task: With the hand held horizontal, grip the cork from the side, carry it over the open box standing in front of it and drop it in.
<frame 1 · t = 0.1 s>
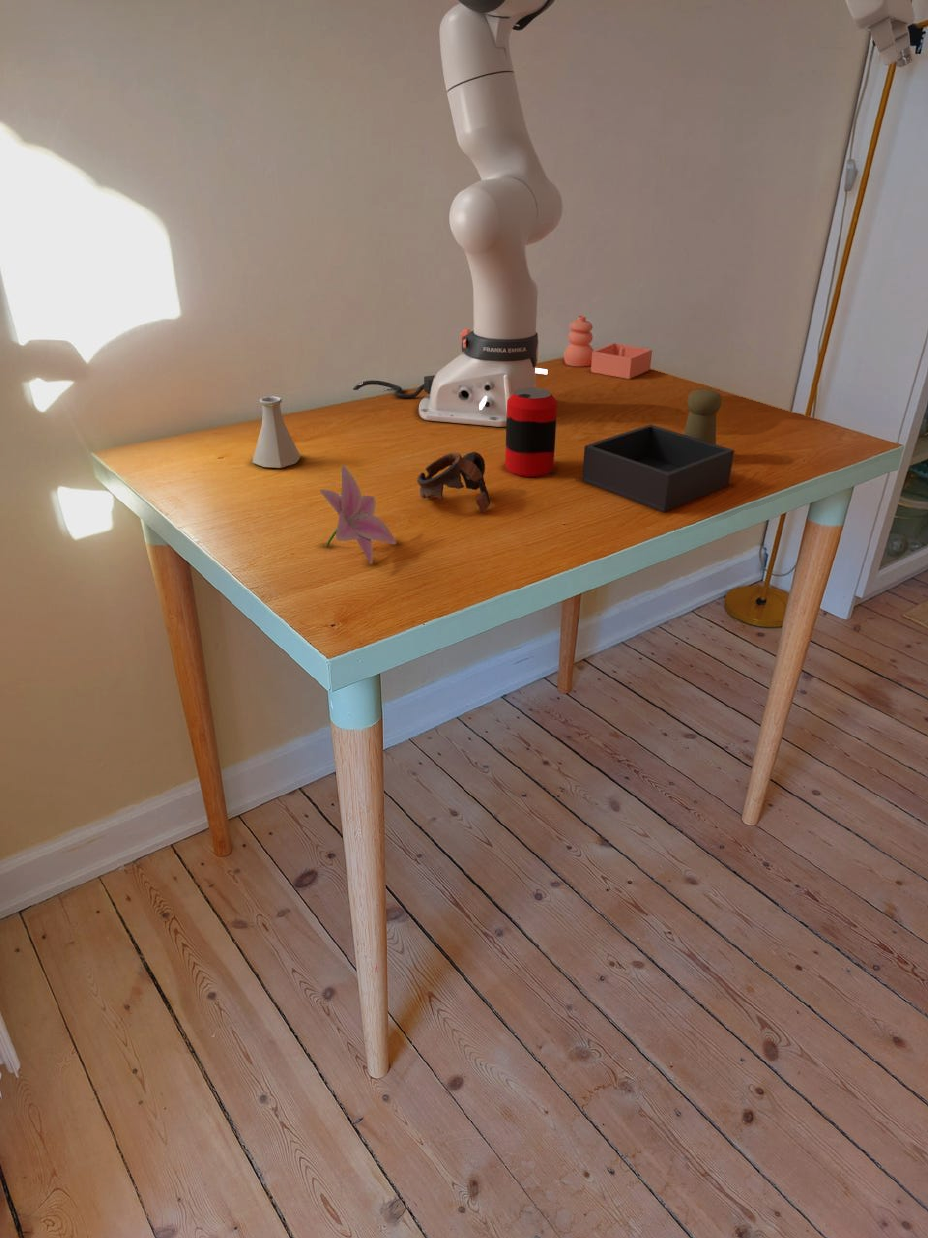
hand: (899, 63, 113), 54 cm above the table, tool tilted 30°, fingers open, 8 cm apart
cork: (696, 459, 146), on the table
flask: (277, 462, 143), on the table
broken clay pot: (459, 503, 130), on the table
lily: (356, 552, 116), on the table
open box: (654, 483, 136), on the table
pottery: (601, 368, 194), on the table
soda can: (529, 469, 141), on the table
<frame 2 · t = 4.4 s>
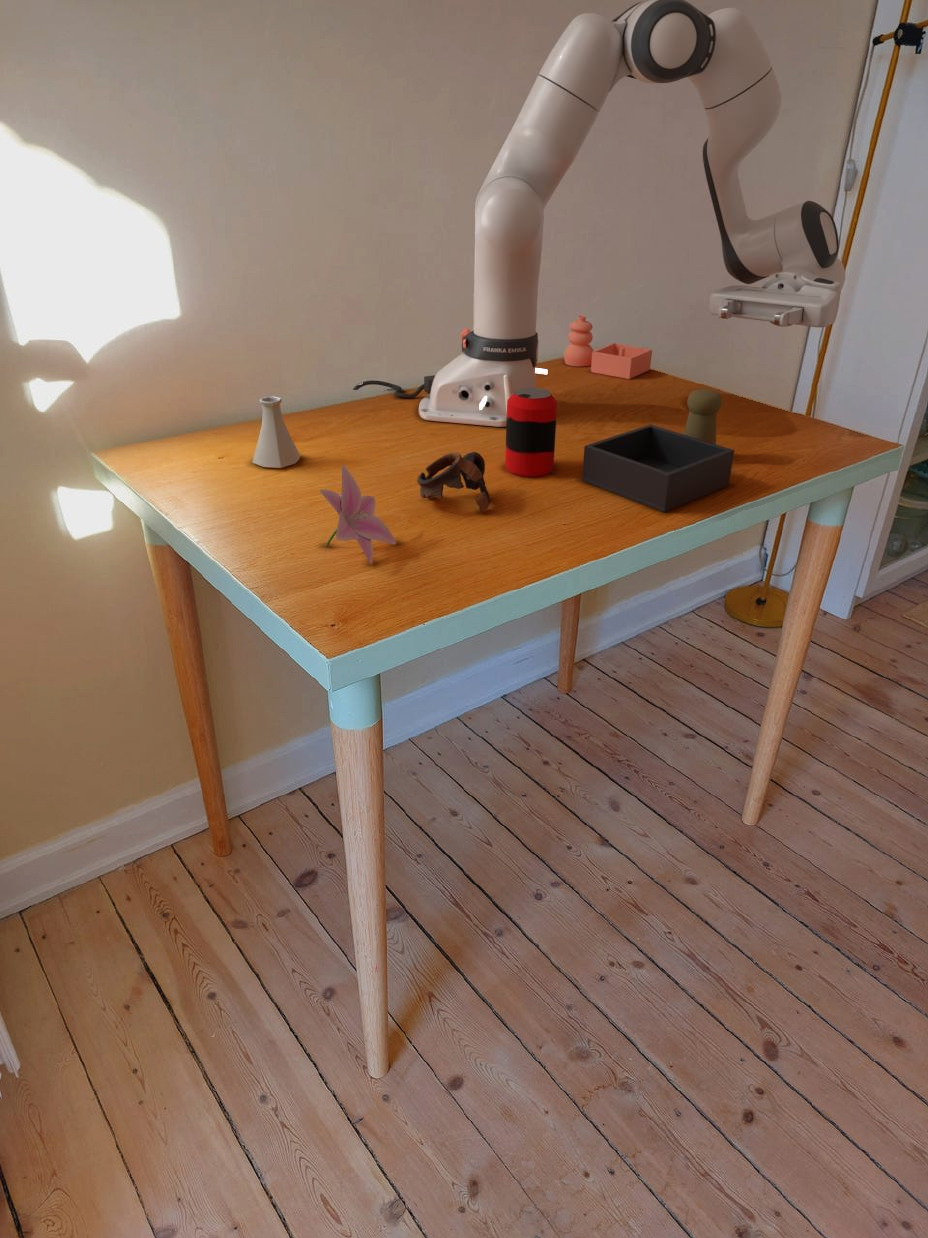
hand: (750, 316, 143), 20 cm above the table, tool horizontal, fingers open, 8 cm apart
nothing on the table moved.
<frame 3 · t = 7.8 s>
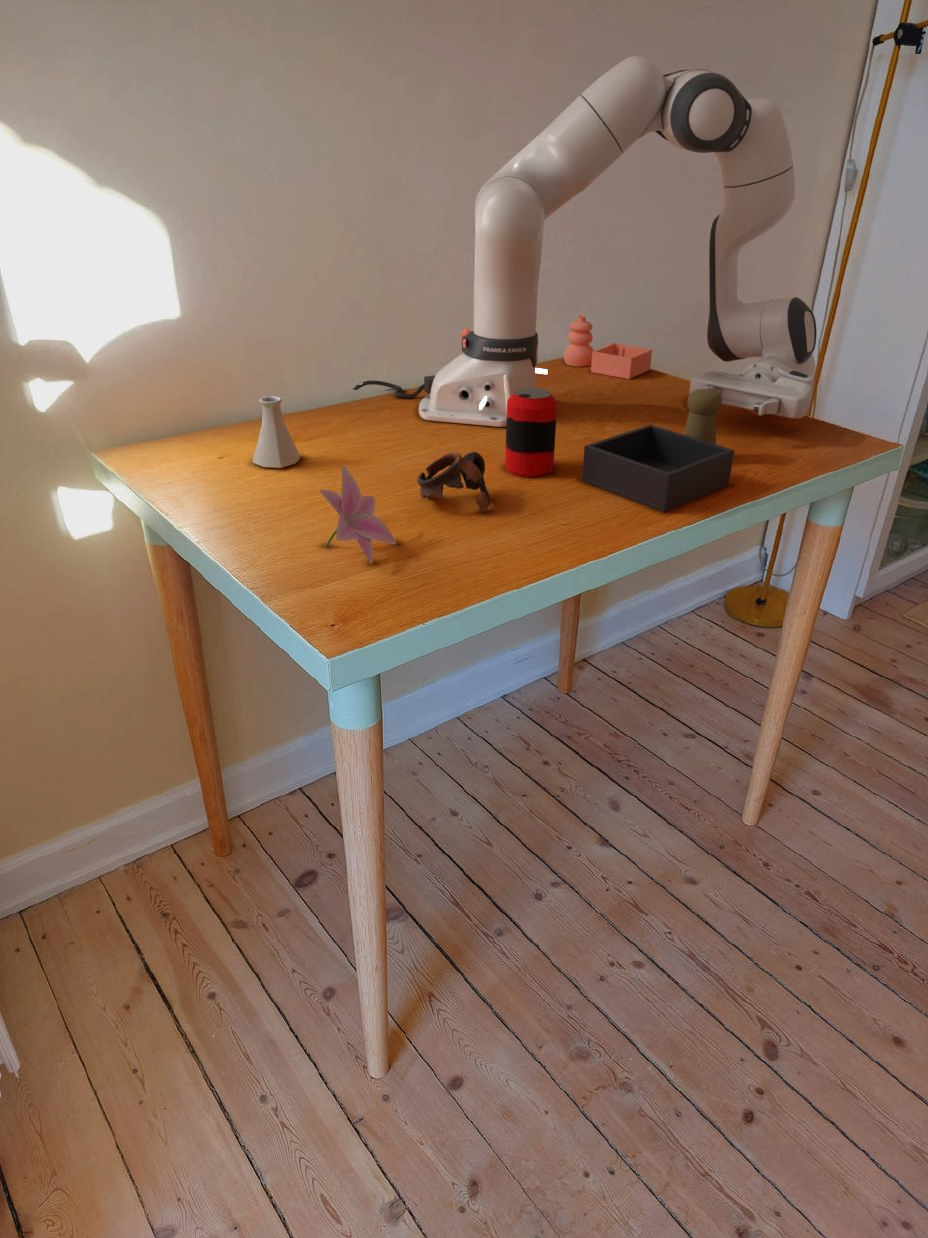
hand: (730, 404, 150), 6 cm above the table, tool horizontal, fingers open, 8 cm apart
nothing on the table moved.
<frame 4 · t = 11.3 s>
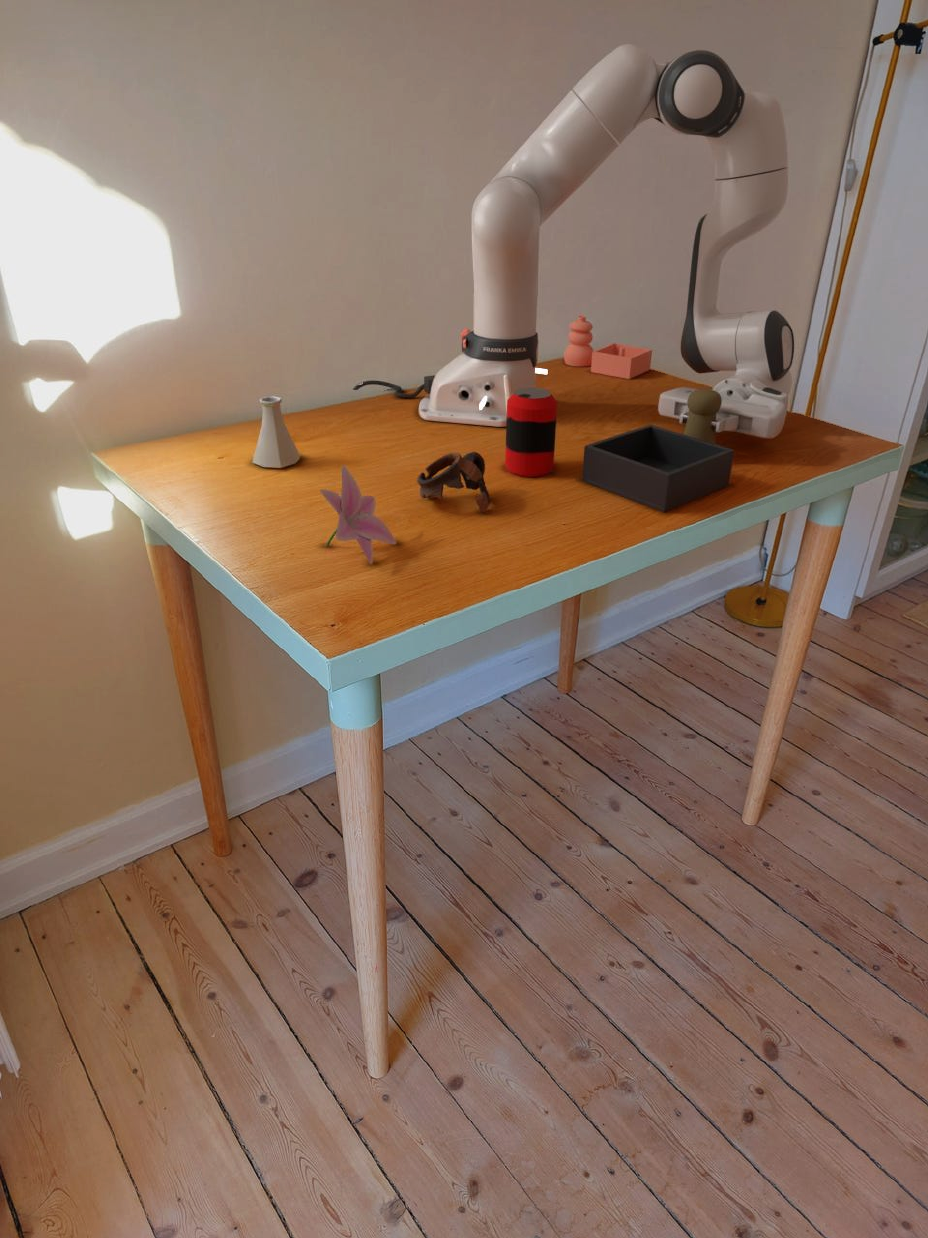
hand: (699, 423, 142), 6 cm above the table, tool horizontal, fingers closed on cork, 4 cm apart
cork: (696, 459, 146), on the table, touching gripper
everything else where it was.
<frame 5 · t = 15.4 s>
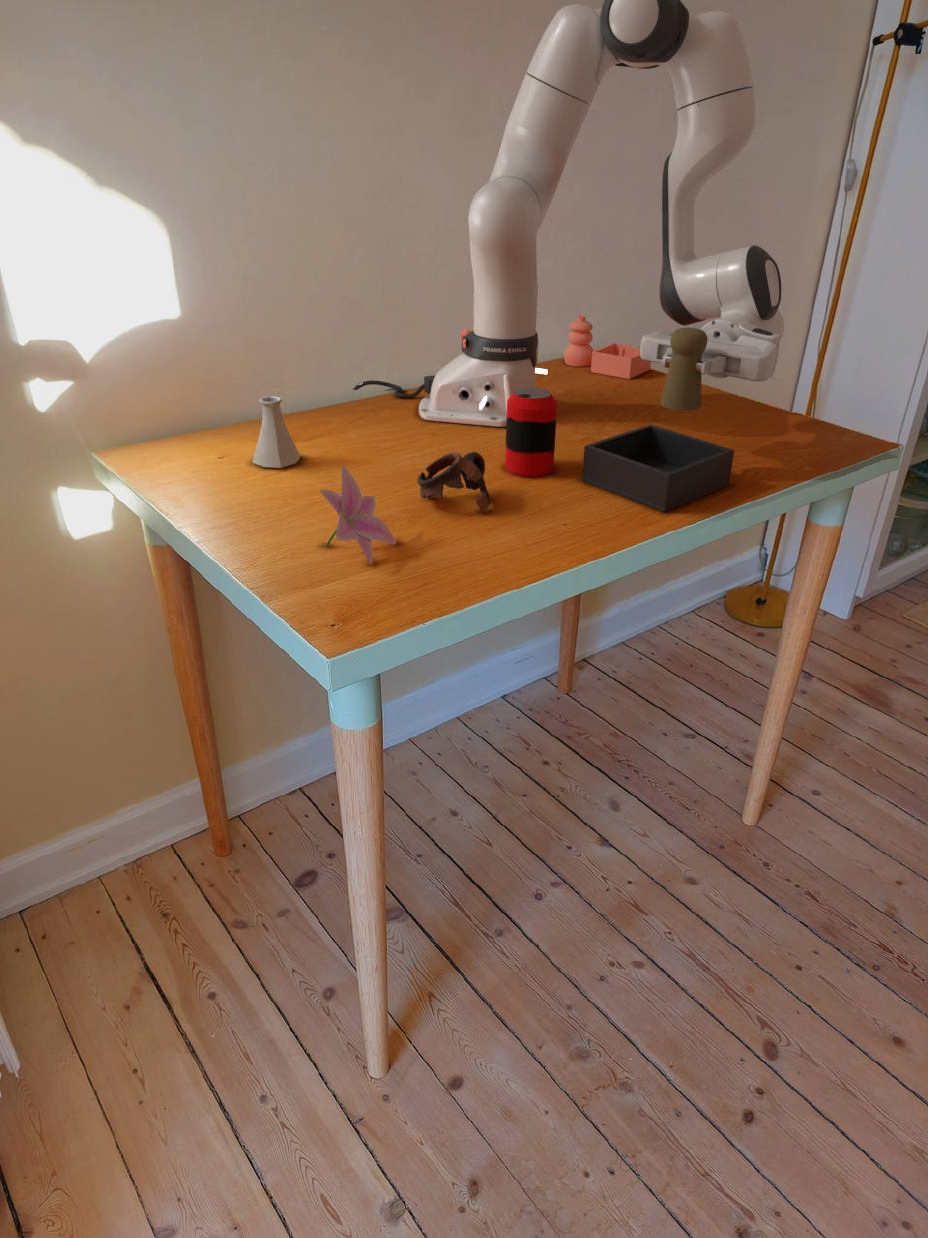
hand: (683, 365, 131), 17 cm above the table, tool horizontal, fingers closed on cork, 4 cm apart
cork: (680, 405, 135), point 11 cm above the table, touching gripper
everything else where it was.
when the fingers open (7 cm above the table, at t = 19.6 s): cork stays where it is, resting on open box.
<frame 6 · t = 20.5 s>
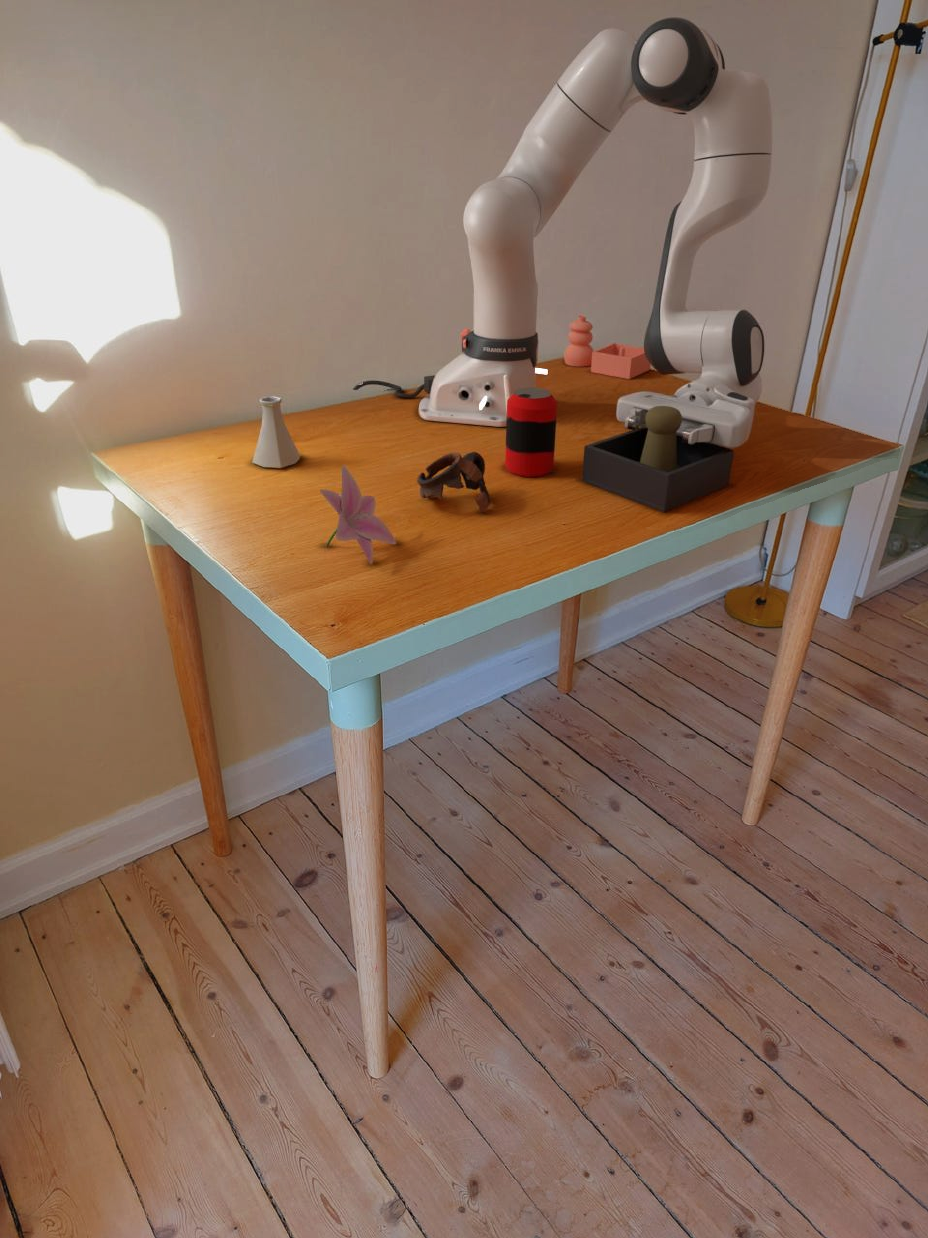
hand: (657, 431, 131), 8 cm above the table, tool horizontal, fingers open, 8 cm apart
cork: (656, 480, 136), resting on open box
everything else where it was.
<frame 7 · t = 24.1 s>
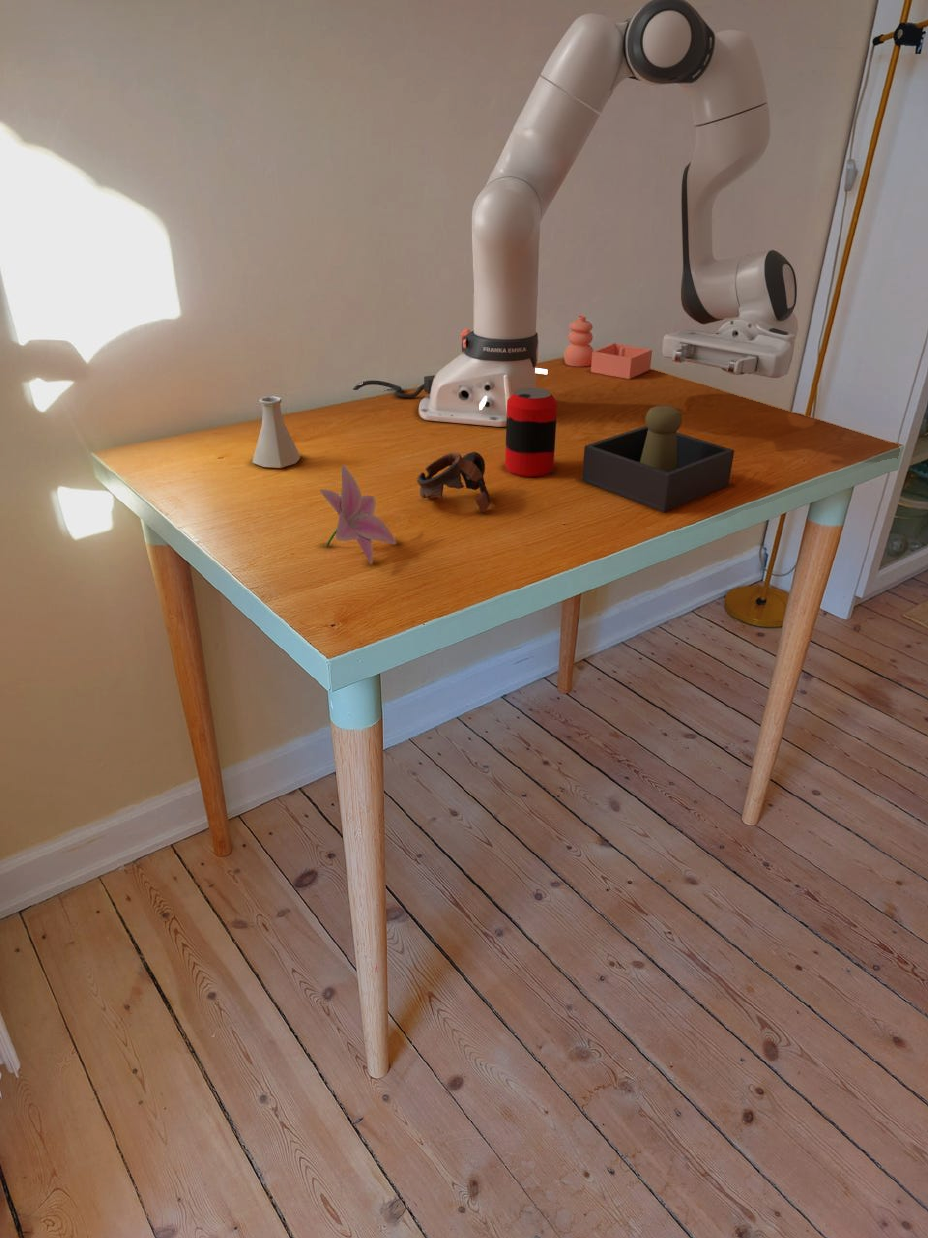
hand: (704, 361, 139), 15 cm above the table, tool horizontal, fingers open, 8 cm apart
nothing on the table moved.
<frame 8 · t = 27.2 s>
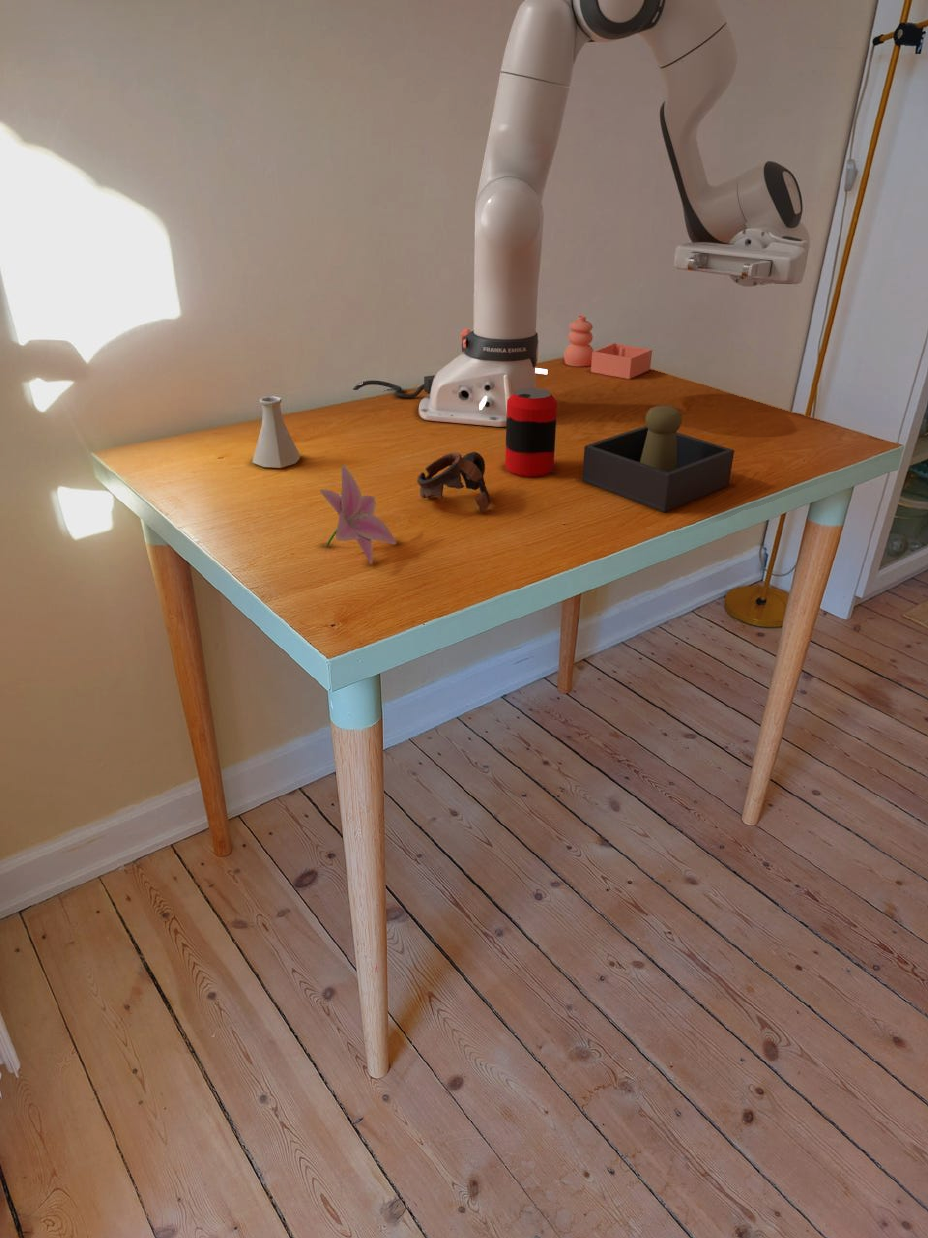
hand: (717, 267, 138), 28 cm above the table, tool horizontal, fingers open, 8 cm apart
nothing on the table moved.
at the end: cork inside the target area in the open box (0.1 cm from its centre), point 0.4 cm above the open box's base; cork touching open box; the gripper is holding nothing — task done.
